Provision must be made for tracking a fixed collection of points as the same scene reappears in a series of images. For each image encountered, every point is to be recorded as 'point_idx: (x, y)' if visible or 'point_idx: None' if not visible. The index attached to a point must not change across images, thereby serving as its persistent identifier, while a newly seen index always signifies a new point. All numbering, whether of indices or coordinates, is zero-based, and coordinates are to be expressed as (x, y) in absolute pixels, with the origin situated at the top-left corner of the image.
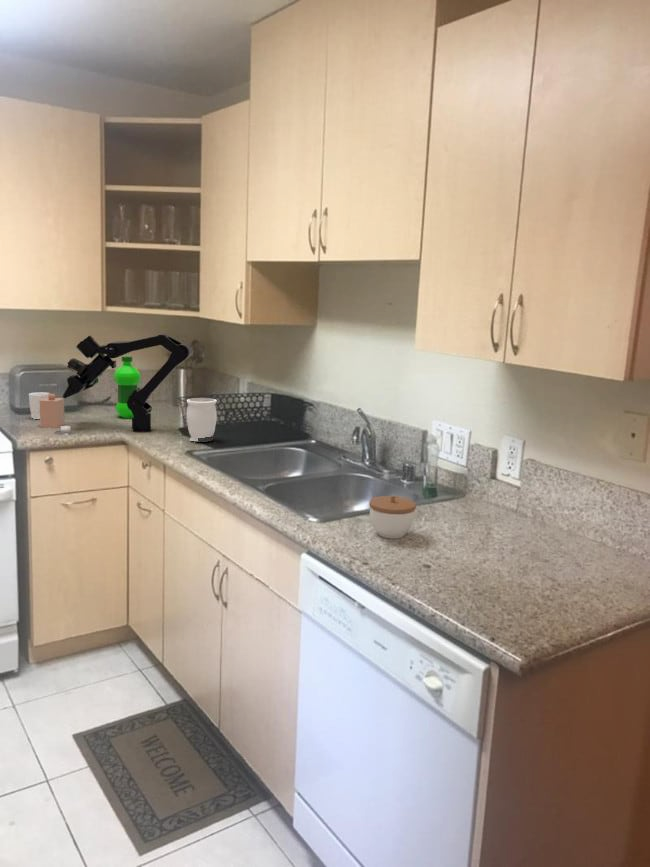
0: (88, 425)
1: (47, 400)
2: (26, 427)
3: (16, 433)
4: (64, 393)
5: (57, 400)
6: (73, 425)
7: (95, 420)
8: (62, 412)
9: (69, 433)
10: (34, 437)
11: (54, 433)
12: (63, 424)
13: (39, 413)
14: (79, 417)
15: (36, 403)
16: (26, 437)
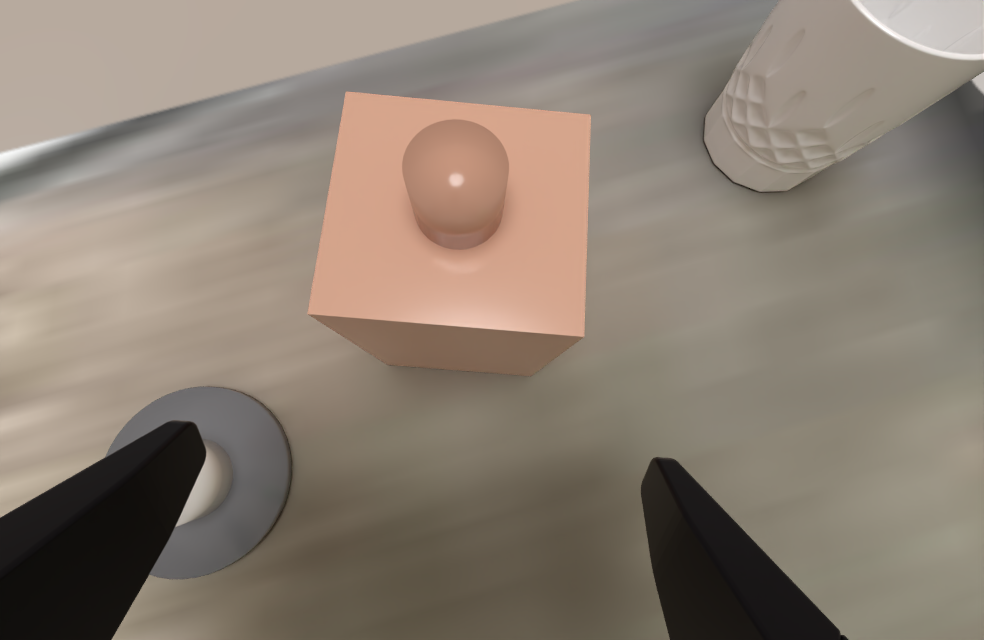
0: (562, 567)
1: (368, 178)
2: None
3: (235, 139)
4: (77, 479)
5: (381, 302)
6: (545, 440)
7: (782, 568)
8: (496, 358)
9: None
10: (91, 285)
11: (153, 402)
12: (502, 372)
13: (731, 120)
14: (867, 396)
15: (772, 38)
16: (96, 234)
